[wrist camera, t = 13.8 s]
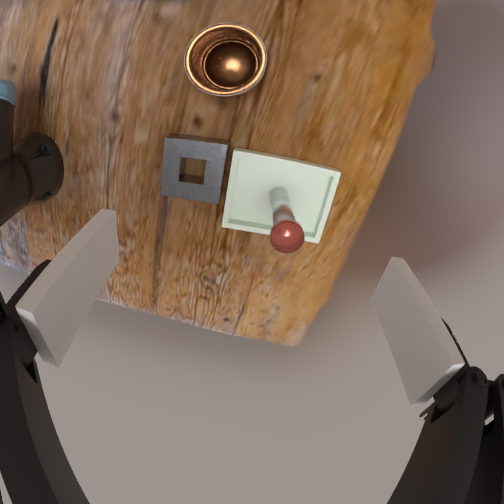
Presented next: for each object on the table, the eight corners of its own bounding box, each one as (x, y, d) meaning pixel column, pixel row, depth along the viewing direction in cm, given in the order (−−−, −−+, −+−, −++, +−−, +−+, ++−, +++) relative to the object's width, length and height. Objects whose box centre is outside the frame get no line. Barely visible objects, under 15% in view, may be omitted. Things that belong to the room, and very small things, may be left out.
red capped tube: (263, 204, 50) (267, 250, 37) (268, 181, 48) (274, 220, 35) (288, 209, 50) (299, 255, 37) (293, 186, 48) (308, 226, 35)
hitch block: (167, 187, 49) (160, 195, 45) (171, 133, 43) (164, 137, 40) (221, 195, 50) (218, 203, 46) (229, 140, 44) (227, 145, 41)
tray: (223, 220, 52) (221, 226, 50) (234, 147, 45) (233, 150, 43) (316, 236, 54) (318, 243, 52) (337, 168, 46) (341, 172, 44)
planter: (254, 103, 41) (254, 105, 33) (190, 88, 39) (174, 88, 31) (273, 43, 35) (278, 32, 27) (207, 29, 34) (195, 16, 26)
